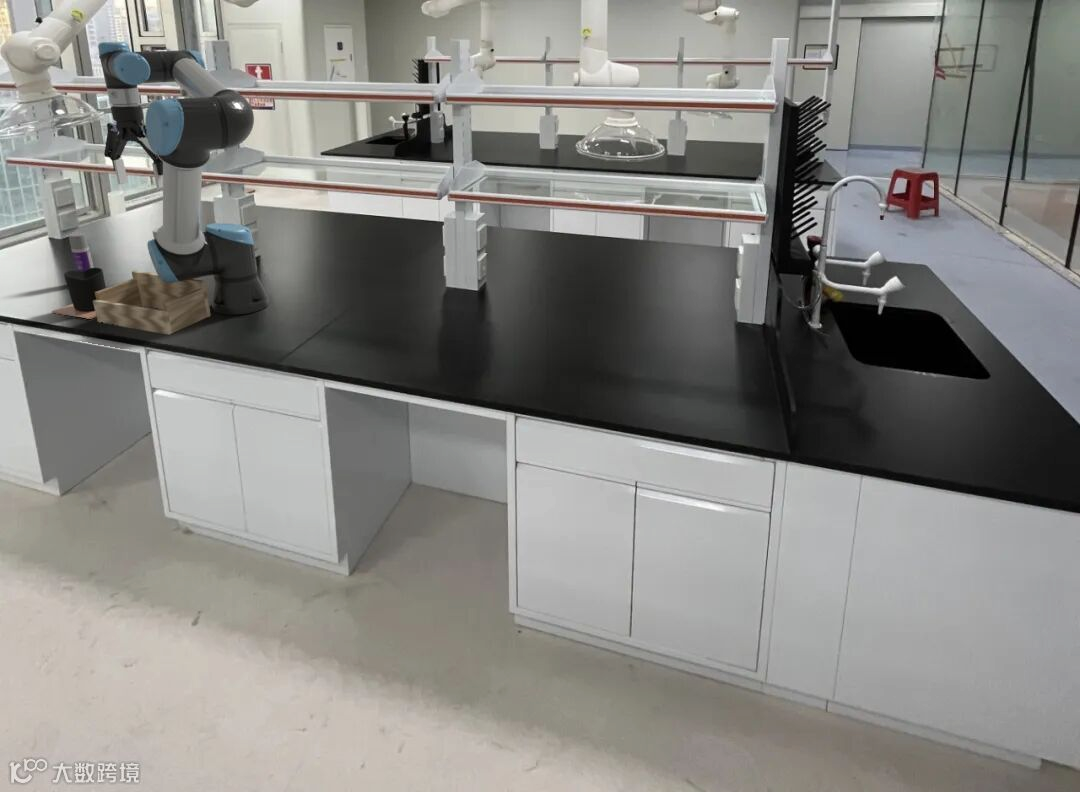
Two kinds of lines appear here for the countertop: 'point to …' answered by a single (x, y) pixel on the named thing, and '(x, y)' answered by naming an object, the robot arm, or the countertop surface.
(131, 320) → the open wooden box
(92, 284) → the pen holder
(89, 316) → the terracotta tile
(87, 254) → the container
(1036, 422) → the countertop surface
